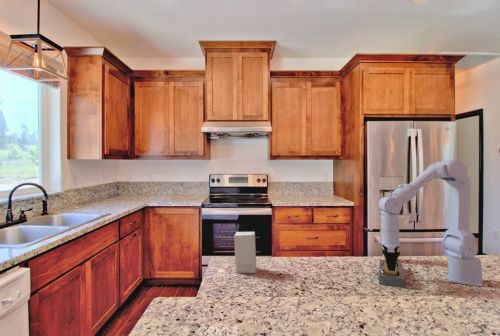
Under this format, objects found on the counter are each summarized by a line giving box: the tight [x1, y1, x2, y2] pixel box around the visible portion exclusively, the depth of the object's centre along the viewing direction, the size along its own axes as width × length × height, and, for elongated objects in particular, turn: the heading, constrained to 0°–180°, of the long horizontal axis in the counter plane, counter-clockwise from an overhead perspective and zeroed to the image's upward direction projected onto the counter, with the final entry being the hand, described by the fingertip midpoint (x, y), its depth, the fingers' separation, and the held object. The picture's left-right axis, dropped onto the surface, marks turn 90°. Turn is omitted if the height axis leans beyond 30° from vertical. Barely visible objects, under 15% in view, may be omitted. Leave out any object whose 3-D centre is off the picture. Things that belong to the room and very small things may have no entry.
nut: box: [384, 262, 397, 276], centre depth 98 cm, size 4×4×6 cm
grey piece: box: [378, 258, 406, 289], centre depth 103 cm, size 8×20×3 cm, turn 153°
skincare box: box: [233, 231, 257, 274], centre depth 111 cm, size 8×7×16 cm
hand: (391, 267), depth 98 cm, fingers open, 7 cm apart
